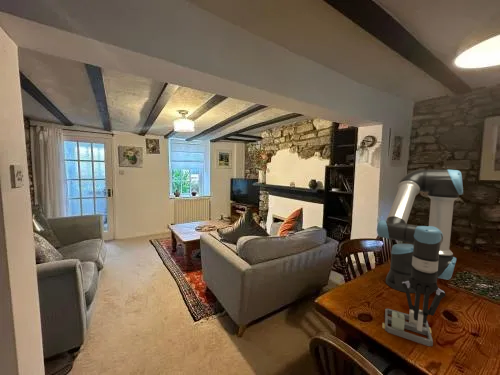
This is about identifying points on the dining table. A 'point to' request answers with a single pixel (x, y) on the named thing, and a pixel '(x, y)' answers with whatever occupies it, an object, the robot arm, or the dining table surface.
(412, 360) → the dining table surface
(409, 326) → the switch bank
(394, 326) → the sage tab
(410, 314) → the ivory tab
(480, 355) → the dining table surface
